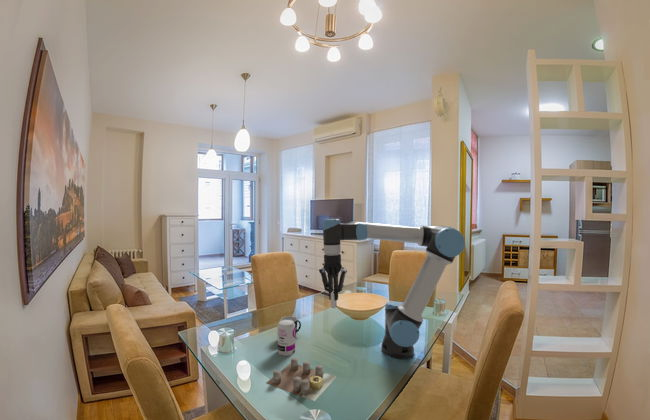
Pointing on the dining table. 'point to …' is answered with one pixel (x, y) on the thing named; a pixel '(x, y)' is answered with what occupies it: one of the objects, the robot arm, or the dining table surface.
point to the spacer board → (290, 377)
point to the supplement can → (286, 337)
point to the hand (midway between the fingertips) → (333, 307)
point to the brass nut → (315, 382)
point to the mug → (294, 322)
